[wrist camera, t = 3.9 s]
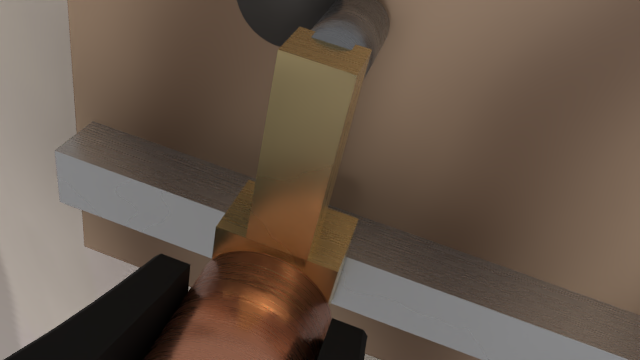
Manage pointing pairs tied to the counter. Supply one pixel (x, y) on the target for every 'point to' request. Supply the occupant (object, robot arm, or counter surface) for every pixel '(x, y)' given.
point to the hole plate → (403, 127)
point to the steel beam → (352, 258)
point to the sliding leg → (285, 207)
